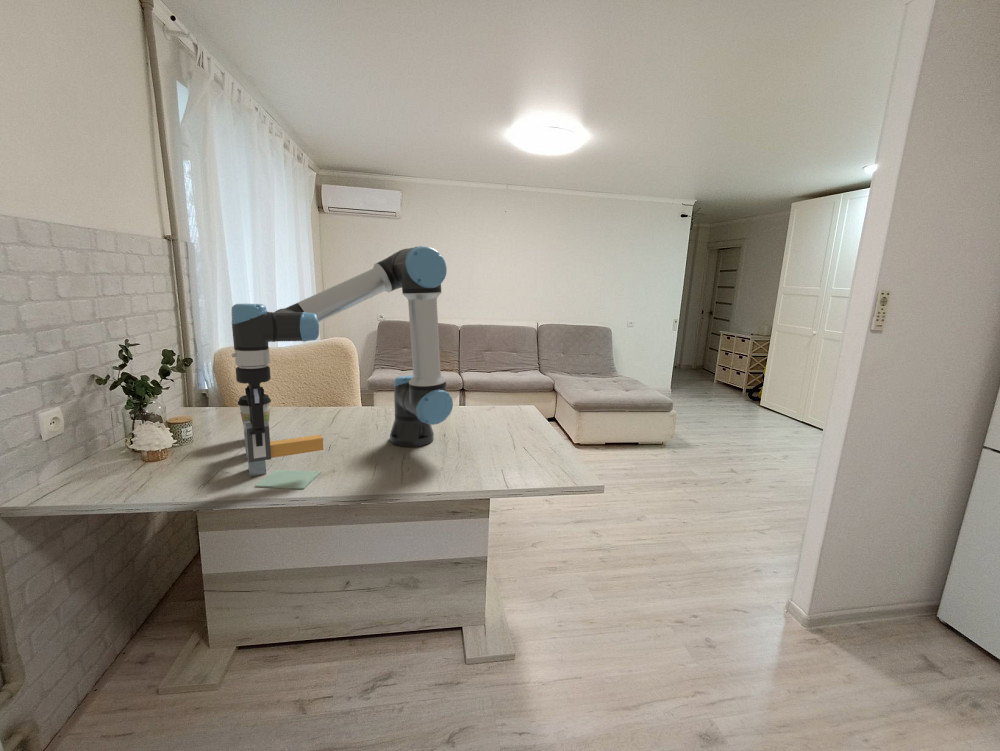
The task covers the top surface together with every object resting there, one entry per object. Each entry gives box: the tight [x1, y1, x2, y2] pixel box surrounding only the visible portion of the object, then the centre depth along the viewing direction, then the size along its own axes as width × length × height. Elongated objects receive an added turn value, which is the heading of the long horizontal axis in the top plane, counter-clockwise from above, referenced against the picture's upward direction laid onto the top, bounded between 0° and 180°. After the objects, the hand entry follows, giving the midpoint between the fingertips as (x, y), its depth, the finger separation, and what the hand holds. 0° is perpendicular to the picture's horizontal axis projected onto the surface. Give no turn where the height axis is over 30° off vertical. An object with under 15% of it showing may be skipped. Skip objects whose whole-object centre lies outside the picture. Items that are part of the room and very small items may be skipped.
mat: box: [254, 469, 321, 490], centre depth 118 cm, size 13×10×1 cm
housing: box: [242, 420, 267, 478], centre depth 127 cm, size 4×20×12 cm, turn 33°
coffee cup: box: [237, 393, 272, 426], centre depth 146 cm, size 10×10×15 cm
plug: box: [245, 421, 324, 463], centre depth 115 cm, size 18×5×9 cm, turn 123°
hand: (259, 453), depth 112 cm, fingers closed on plug, 5 cm apart
